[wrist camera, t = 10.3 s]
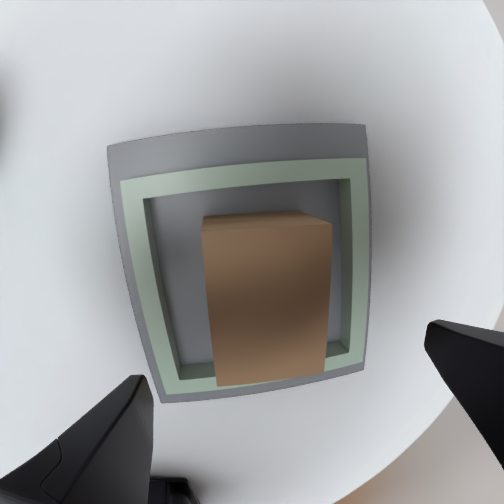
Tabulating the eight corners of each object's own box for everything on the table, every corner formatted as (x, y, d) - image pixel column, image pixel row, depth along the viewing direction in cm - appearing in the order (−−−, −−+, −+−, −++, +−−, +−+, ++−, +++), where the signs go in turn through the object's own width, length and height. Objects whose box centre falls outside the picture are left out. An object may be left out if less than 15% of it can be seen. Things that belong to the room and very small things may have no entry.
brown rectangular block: (298, 329, 18) (324, 372, 13) (213, 338, 17) (216, 386, 13) (299, 210, 16) (331, 223, 12) (203, 216, 15) (201, 231, 11)
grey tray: (357, 362, 20) (372, 381, 18) (162, 394, 19) (158, 418, 16) (357, 126, 16) (378, 120, 14) (112, 147, 15) (96, 143, 12)
